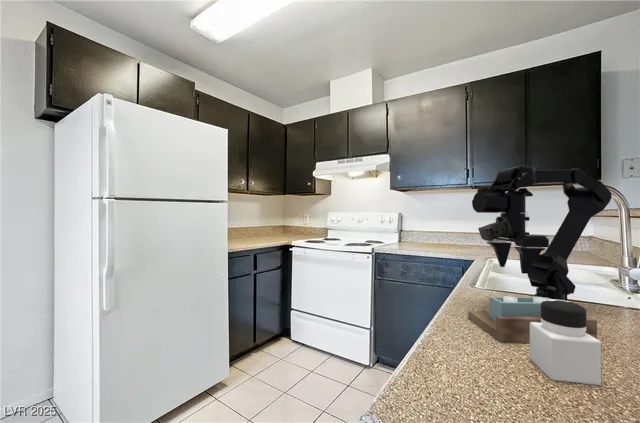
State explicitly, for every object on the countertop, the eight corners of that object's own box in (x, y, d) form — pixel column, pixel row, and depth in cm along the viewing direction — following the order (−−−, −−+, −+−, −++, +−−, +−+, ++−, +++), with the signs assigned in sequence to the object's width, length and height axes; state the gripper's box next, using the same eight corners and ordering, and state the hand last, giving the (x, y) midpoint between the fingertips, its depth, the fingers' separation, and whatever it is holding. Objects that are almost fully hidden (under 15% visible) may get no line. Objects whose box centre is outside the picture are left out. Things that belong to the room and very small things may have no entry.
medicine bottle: (602, 386, 45) (602, 310, 46) (551, 380, 47) (551, 307, 47) (572, 363, 52) (572, 297, 53) (528, 359, 54) (529, 295, 54)
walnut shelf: (546, 319, 74) (546, 300, 74) (597, 344, 60) (597, 320, 60) (468, 318, 75) (468, 299, 75) (500, 342, 61) (500, 319, 61)
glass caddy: (547, 318, 70) (547, 295, 70) (564, 326, 65) (564, 301, 65) (489, 317, 70) (489, 294, 70) (501, 325, 65) (501, 300, 65)
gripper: (466, 213, 88) (466, 263, 88) (503, 212, 70) (503, 277, 69) (503, 213, 88) (503, 264, 88) (550, 213, 69) (550, 277, 69)
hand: (512, 270), depth 79 cm, fingers open, 9 cm apart
